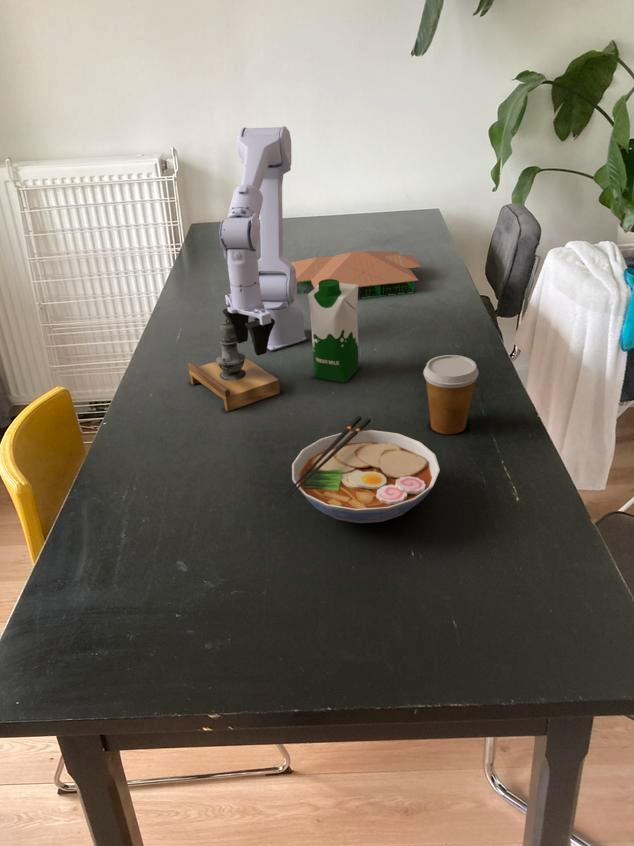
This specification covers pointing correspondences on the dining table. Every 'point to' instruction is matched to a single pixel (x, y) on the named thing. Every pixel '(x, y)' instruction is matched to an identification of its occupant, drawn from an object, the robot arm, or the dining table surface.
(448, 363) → the disposable coffee cup
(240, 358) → the grey stone finial
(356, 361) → the milk carton
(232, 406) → the shelf stand
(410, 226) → the dining table surface
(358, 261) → the house
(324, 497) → the ramen bowl
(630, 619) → the dining table surface
